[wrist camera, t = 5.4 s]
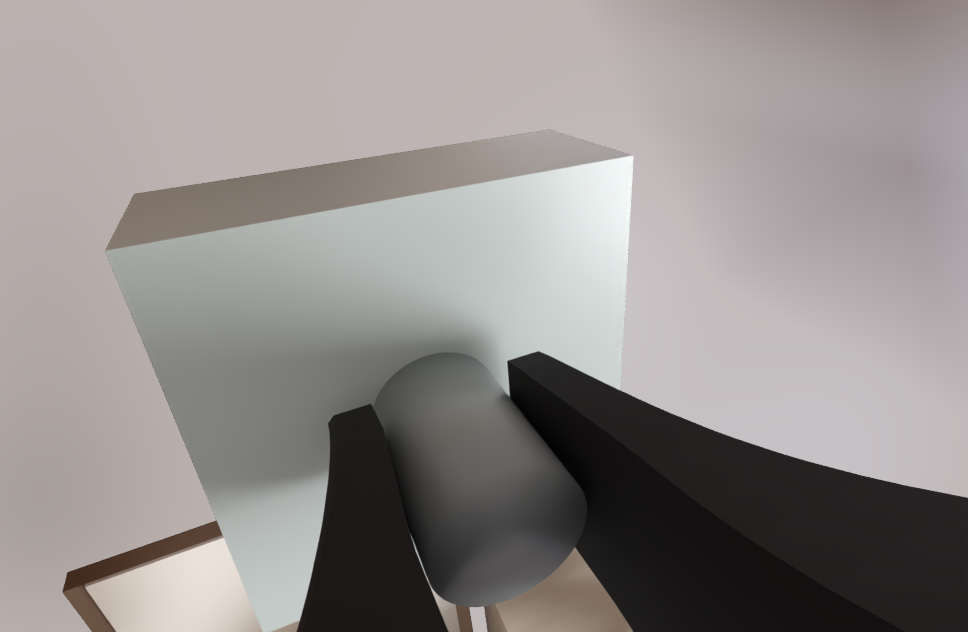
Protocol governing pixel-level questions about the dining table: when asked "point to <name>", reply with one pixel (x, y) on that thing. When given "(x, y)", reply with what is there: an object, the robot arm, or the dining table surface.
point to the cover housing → (384, 345)
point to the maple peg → (560, 604)
